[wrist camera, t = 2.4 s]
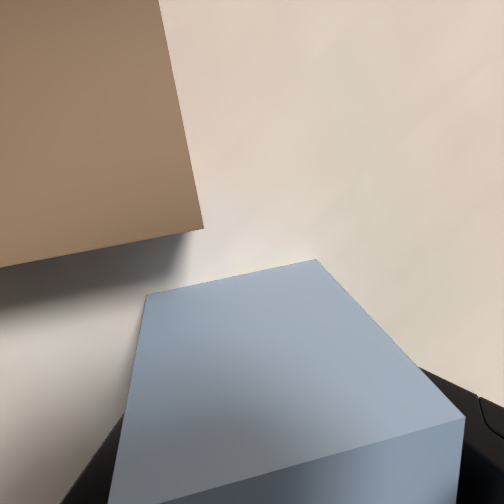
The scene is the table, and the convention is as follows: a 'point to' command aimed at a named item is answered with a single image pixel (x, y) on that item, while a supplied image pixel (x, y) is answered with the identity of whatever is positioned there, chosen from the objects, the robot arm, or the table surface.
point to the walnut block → (89, 129)
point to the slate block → (279, 401)
